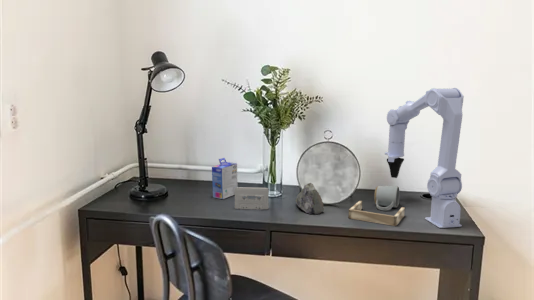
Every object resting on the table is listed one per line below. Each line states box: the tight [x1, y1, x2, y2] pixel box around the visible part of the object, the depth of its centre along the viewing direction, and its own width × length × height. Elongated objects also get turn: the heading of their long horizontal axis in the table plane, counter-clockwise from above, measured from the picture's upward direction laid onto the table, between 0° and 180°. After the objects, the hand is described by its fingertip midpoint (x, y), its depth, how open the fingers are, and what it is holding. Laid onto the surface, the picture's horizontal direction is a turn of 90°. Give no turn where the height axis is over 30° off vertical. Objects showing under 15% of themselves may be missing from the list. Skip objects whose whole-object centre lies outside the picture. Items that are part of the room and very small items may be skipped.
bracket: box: [347, 200, 405, 227], centre depth 169 cm, size 12×16×3 cm
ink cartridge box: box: [211, 157, 239, 200], centre depth 192 cm, size 10×6×14 cm, turn 148°
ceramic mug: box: [373, 185, 400, 212], centre depth 180 cm, size 11×8×8 cm
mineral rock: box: [295, 182, 325, 215], centre depth 177 cm, size 13×11×10 cm
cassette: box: [234, 186, 270, 210], centre depth 177 cm, size 12×2×8 cm, turn 89°
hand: (394, 177), depth 188 cm, fingers closed
